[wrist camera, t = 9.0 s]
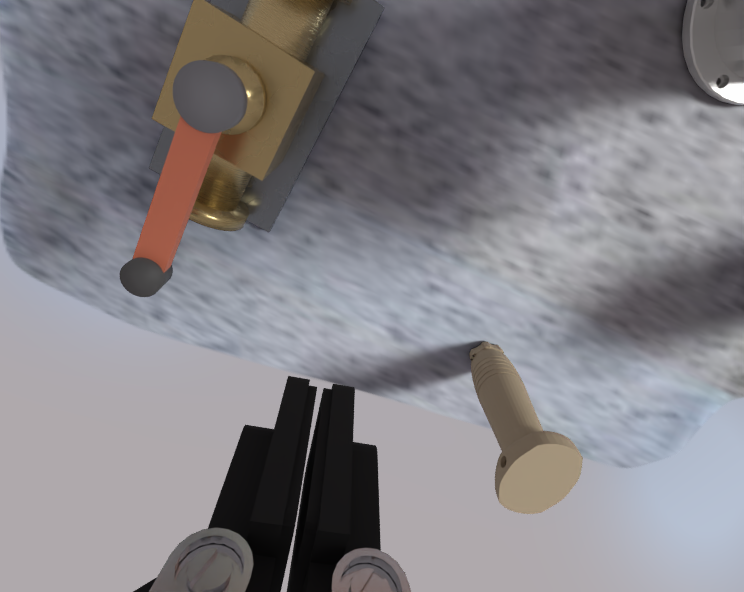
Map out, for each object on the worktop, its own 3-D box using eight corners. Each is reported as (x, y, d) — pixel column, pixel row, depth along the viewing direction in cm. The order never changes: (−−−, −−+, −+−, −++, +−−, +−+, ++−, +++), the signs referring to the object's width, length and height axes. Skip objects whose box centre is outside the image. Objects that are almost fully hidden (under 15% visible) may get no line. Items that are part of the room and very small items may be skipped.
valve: (248, -87, 28) (186, -177, 18) (383, 9, 30) (392, -25, 21) (154, 166, 34) (72, 197, 25) (271, 228, 37) (237, 280, 27)
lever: (195, 48, 21) (181, 45, 20) (257, 83, 22) (248, 83, 21) (122, 270, 26) (106, 282, 25) (174, 293, 27) (162, 306, 26)
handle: (448, 373, 43) (485, 504, 30) (476, 319, 41) (530, 436, 27) (492, 386, 44) (547, 519, 31) (522, 334, 42) (597, 455, 28)
